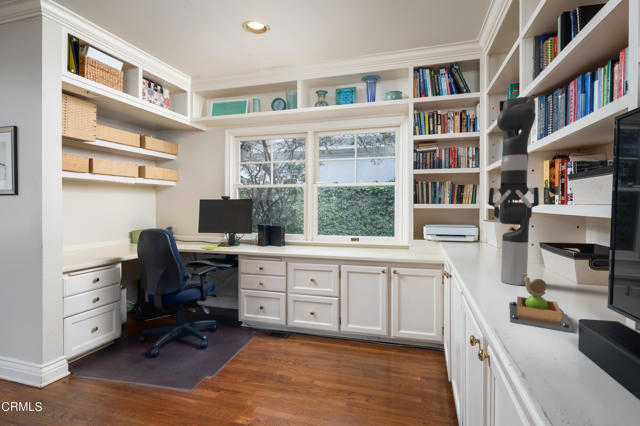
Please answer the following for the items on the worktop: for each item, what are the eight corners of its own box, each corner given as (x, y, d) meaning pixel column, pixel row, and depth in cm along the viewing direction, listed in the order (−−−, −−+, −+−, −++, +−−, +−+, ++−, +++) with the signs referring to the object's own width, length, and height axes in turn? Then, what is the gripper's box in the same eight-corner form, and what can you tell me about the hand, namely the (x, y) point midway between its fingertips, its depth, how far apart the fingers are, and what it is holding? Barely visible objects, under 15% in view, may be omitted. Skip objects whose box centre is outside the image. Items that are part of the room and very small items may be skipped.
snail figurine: (517, 310, 97) (519, 271, 97) (539, 310, 97) (540, 271, 97) (529, 316, 92) (530, 275, 91) (551, 317, 92) (553, 275, 91)
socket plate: (509, 305, 105) (509, 293, 104) (562, 313, 98) (563, 300, 98) (510, 321, 91) (510, 308, 91) (572, 332, 84) (573, 317, 84)
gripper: (538, 169, 106) (536, 219, 106) (490, 171, 113) (488, 217, 113) (541, 168, 99) (539, 220, 100) (489, 169, 106) (487, 218, 107)
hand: (512, 218), depth 107 cm, fingers open, 8 cm apart
